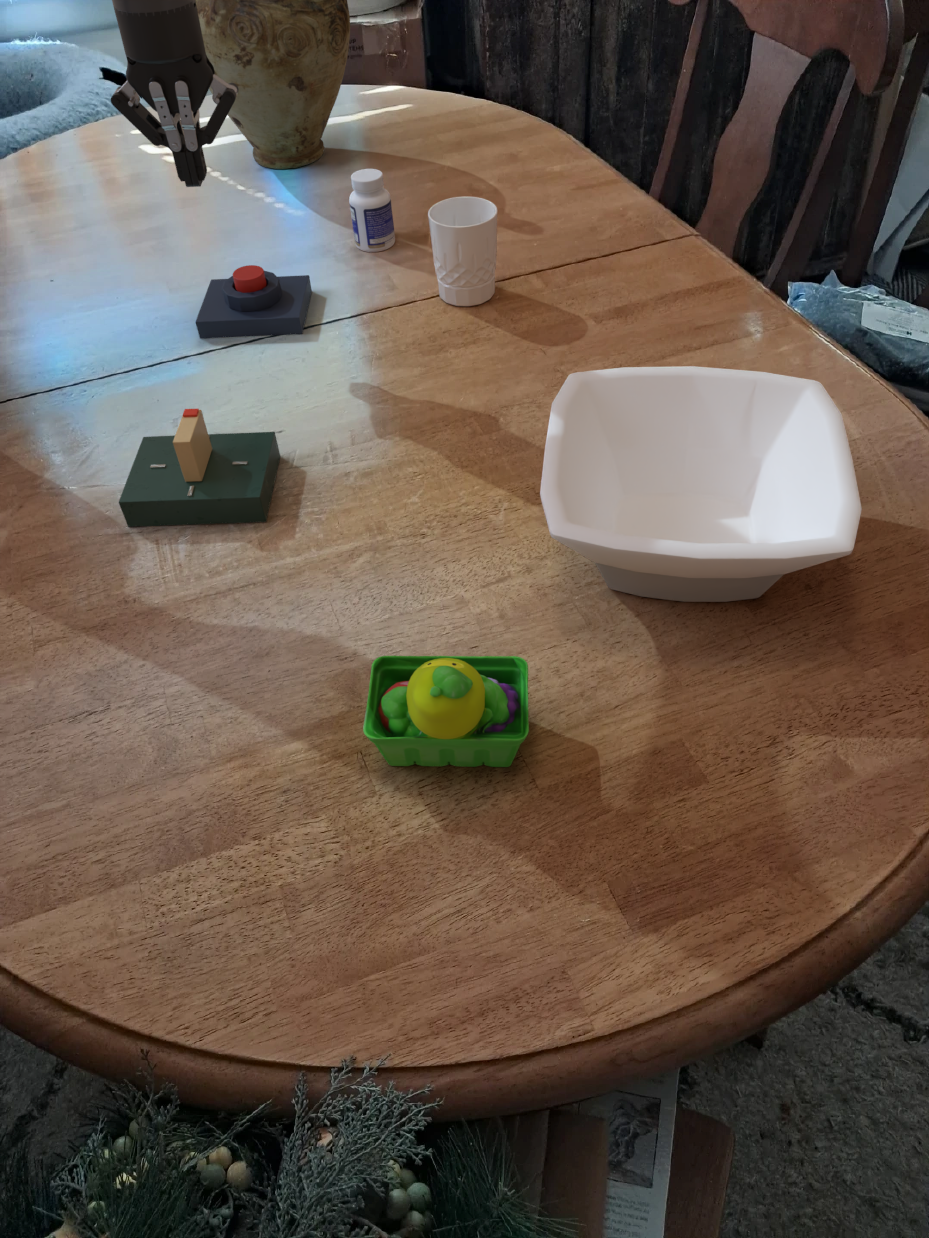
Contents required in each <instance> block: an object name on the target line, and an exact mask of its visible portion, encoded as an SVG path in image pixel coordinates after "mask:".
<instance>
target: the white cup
mask: <svg viewBox="0 0 929 1238" xmlns="http://www.w3.org/2000/svg"><path fill="white" fill-rule="evenodd" d="M427 219H428V225H429V226H428V227H429V233H430V243H431V249H432V258H433V265H434V272H435V276H436V280H437V287H438V294H439V299H441V300H442V301H443V302H444V303H446V304H449V305H452V306H456V307H473V306H477V305H481V304H484V303H486V302H487V301H489V300H491V299H492V297H493V296H494V294H495V293H496V269H497V252H498V207H497V205H496V204H495V203H494V202H492V201H491V200H488V199H486V198H483V197H478V196H467V195H466V196H465V195H464V196H453V197H450V198H445V199H443V200H440V201H438V202H436V203H434V204H433V205H432V206H431V207H430V208H429V209H428V211H427Z"/></svg>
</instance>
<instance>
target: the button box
mask: <svg viewBox="0 0 929 1238" xmlns="http://www.w3.org/2000/svg"><path fill="white" fill-rule="evenodd" d="M264 274H265V279H266V284H267V285H266V287H264V288H263V289H262V290H259V291H255V292H250V293H242V292H238V291H237V290H236V288H235V283H234V279H233V275H231V276H230V277H228V278H215V279H211V280H210V282H209V285H208V287H207V289H206V292H205V295H204V298H203V300H202V303H201V307H200V308H199V311H198V314H197V317H196V320H195V325H196V329H197V333H198V337H199V339H200V340H201V339H220V338H221V339H222V338H223V339H224V338H244V337H245V338H246V337H270V336H294V335H303V333H304V328H305V324H306V320H307V316H308V310H309V307H310V302H311V298H312V292H313V291H312V285H311V280H310V279H311V278H310V275H309V274H306V275H305V274H303V275H302V274H301V275H283V276H282V275H281V276H277V275H276V274H275V273H274V272H272V271H268V270H264Z"/></svg>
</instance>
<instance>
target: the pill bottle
mask: <svg viewBox="0 0 929 1238" xmlns="http://www.w3.org/2000/svg"><path fill="white" fill-rule="evenodd" d="M350 181H351V187H352V190H353V191H352V192H351V193H350V195H349V197H348V199H349V200H348V202H349V203H348V204H349V210H350V211H349V212H350V217H351V218H350V219H351V224H352V232H353V238H354V244H355V247H356V248H357V249H358V250H360V251H362V252H366V253H378V252H383V251H386V250H388V249H390V248H392V247H393V246H394V245H395V242H396V233H395V224H394V216H393V207H392V206H393V205H392V199H391V194H390V192H389V190H388V189H387V188H385V187H384V186H385V181H384V174H383V172H382V171H381V170H379V169H376V168H363V169H359V170H356V171H353V173H352V174H351V175H350Z"/></svg>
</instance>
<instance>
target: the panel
mask: <svg viewBox="0 0 929 1238" xmlns="http://www.w3.org/2000/svg"><path fill="white" fill-rule="evenodd" d="M208 435H209V439H210V442H211V446H212V451H211V454H210V457H209V461H208V464H207V467H206V470H205V473H204V476H203V479H202V481H194V482H185V479H184V476H183V473H182V470H181V467H180V464H179V461H178V457H177V454H176V451H175V448H174V445H173V440H174V437H175V435H154V436H153V435H152V436H143V437H142V440H141V442H140V444H139V448H138V449H137V453H136V455H135V458H134V461H133V463H132V465H131V467H130V471H129V473H128V477H127V479H126V482H125V484H124V486H123V490H122V492H121V495H120V497H119V500H118V504H119V507H120V509H121V513H122V515H123V517H124V520H125V522H126V525H127V527H129V528H130V527H133V528H134V527H161V526H162V527H163V526H187V525H188V526H190V525H215V524H217V525H219V524H245V523H266V522H267V520H268V515H269V511H270V507H271V501H272V496H273V493H274V492H273V491H274V486H275V482H276V478H277V473H278V469H279V464H280V459H281V454H280V448H279V444H278V439H277V435H276V431H259V432H257V431H256V432H255V431H254V432H231V433H208Z"/></svg>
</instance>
